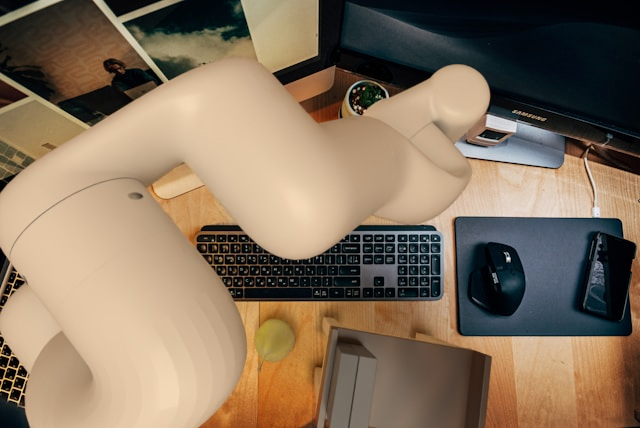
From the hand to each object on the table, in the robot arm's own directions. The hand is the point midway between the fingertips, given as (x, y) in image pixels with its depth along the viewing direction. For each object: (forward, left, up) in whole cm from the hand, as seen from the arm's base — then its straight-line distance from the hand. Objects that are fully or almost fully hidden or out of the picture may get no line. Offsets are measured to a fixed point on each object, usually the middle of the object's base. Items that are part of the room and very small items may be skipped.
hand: (402, 165), depth 79 cm
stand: (0, -34, -4) cm, 34 cm away
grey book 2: (-6, -34, +19) cm, 39 cm away
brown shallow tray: (0, -34, +18) cm, 39 cm away
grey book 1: (-8, -34, +19) cm, 40 cm away
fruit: (-17, -34, -4) cm, 38 cm away
